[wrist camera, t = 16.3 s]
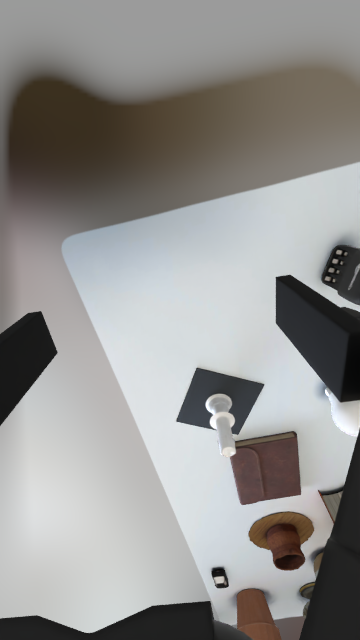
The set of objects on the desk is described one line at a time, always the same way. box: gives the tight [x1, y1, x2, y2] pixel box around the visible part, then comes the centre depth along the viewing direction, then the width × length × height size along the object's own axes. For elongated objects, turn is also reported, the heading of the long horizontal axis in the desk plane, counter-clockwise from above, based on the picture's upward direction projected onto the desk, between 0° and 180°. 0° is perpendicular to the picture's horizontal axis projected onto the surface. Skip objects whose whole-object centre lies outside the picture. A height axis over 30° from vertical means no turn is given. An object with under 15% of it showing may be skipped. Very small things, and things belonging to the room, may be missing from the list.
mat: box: [177, 368, 264, 435], centre depth 54 cm, size 14×14×1 cm
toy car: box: [212, 570, 229, 588], centre depth 81 cm, size 10×4×3 cm, turn 14°
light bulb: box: [325, 387, 360, 437], centre depth 48 cm, size 7×7×11 cm
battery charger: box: [322, 245, 360, 305], centre depth 37 cm, size 7×4×11 cm, turn 170°
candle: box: [206, 394, 236, 457], centre depth 48 cm, size 5×5×12 cm
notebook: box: [230, 431, 301, 505], centre depth 61 cm, size 15×20×2 cm
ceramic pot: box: [249, 512, 314, 571], centre depth 70 cm, size 18×18×7 cm
